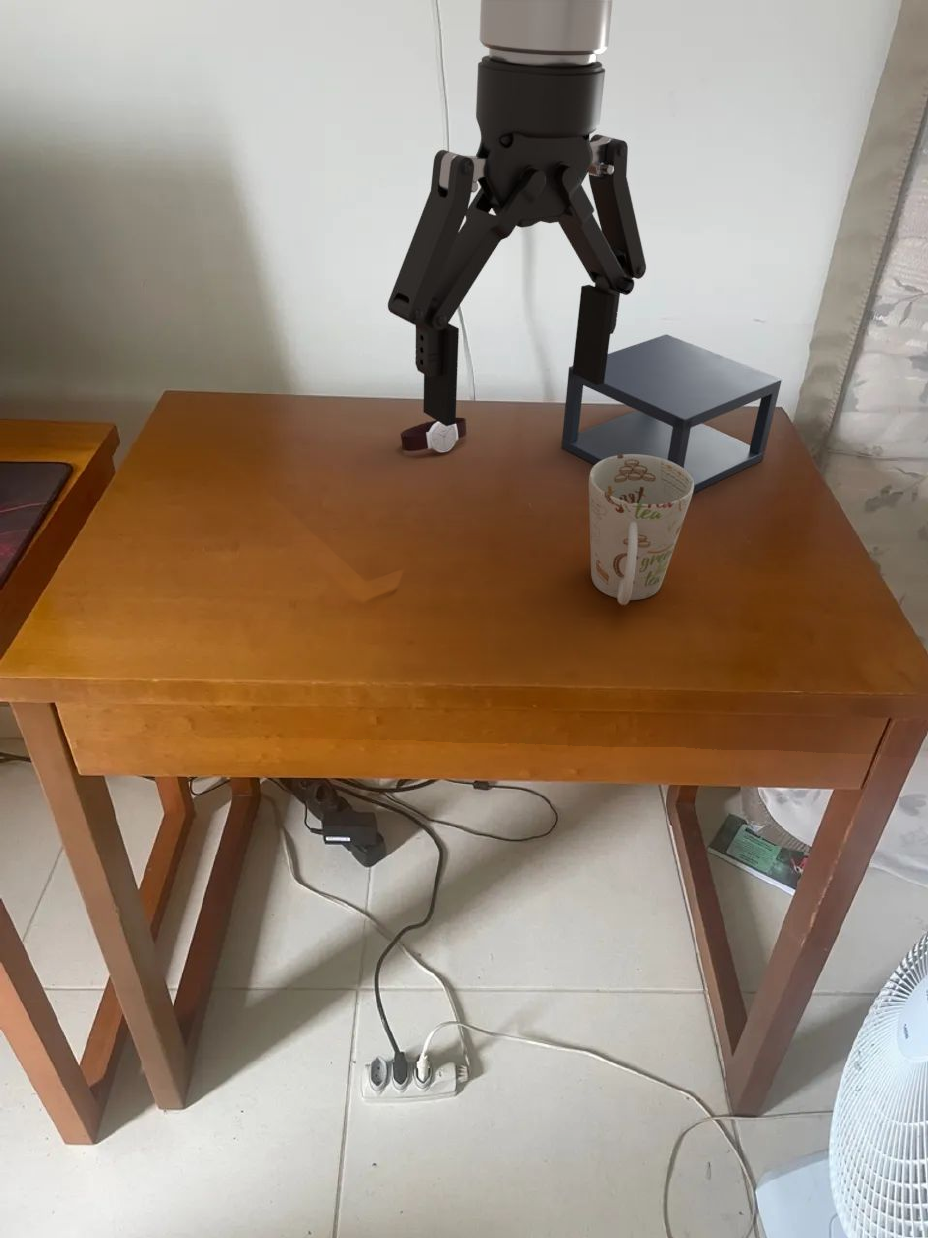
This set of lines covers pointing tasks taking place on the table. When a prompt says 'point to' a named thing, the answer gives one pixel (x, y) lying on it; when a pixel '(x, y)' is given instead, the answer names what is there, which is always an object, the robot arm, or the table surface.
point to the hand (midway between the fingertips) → (517, 397)
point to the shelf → (674, 409)
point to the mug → (635, 522)
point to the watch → (433, 436)
